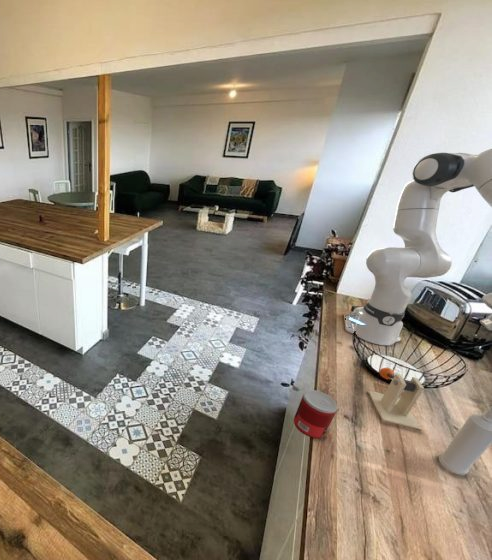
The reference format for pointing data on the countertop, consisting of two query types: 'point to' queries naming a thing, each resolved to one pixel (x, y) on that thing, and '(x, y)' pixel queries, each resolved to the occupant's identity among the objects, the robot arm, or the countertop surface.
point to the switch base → (398, 402)
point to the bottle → (468, 443)
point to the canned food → (315, 413)
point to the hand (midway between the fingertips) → (484, 325)
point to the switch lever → (389, 374)
